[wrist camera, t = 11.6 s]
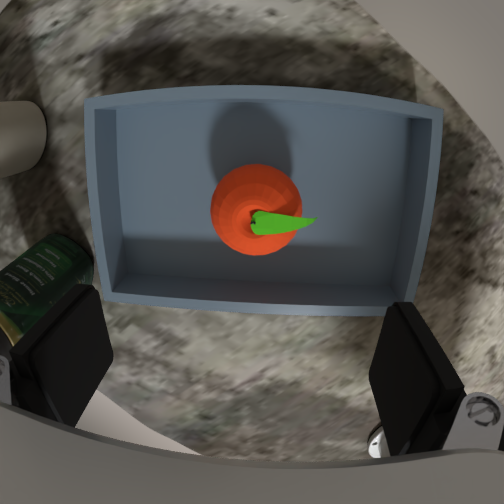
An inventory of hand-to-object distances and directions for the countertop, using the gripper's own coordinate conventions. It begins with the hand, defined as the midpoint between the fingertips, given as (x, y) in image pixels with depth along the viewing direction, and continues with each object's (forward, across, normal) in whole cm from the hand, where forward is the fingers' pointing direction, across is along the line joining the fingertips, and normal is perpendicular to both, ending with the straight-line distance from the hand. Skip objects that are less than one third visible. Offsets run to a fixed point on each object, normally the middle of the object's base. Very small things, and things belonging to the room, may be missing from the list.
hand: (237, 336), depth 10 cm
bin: (+20, 0, 0) cm, 20 cm away
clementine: (+19, 0, 0) cm, 19 cm away
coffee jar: (+20, +22, +9) cm, 31 cm away
